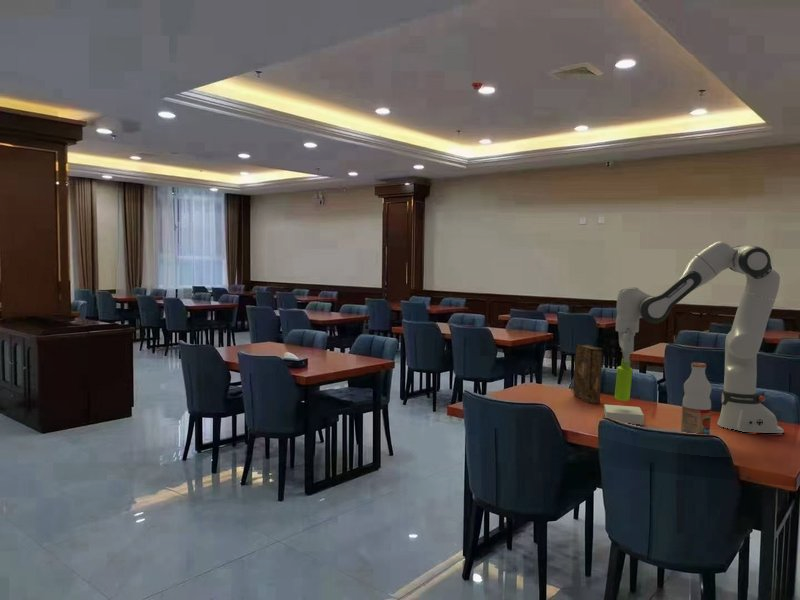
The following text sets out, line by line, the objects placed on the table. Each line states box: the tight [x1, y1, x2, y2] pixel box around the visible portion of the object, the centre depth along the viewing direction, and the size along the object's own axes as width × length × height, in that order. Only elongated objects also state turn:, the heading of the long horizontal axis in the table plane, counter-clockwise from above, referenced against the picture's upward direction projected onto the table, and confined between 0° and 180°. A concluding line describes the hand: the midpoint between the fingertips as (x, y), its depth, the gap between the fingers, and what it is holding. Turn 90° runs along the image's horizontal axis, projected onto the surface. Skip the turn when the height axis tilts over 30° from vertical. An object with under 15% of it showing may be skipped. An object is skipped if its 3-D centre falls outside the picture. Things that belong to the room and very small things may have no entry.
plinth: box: [603, 403, 645, 426], centre depth 244 cm, size 14×14×4 cm
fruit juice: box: [680, 361, 712, 435], centre depth 217 cm, size 9×9×28 cm
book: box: [573, 344, 603, 404], centre depth 278 cm, size 16×6×25 cm, turn 10°
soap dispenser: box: [614, 349, 634, 402], centre depth 244 cm, size 6×7×20 cm
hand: (625, 361), depth 242 cm, fingers closed on soap dispenser, 4 cm apart
